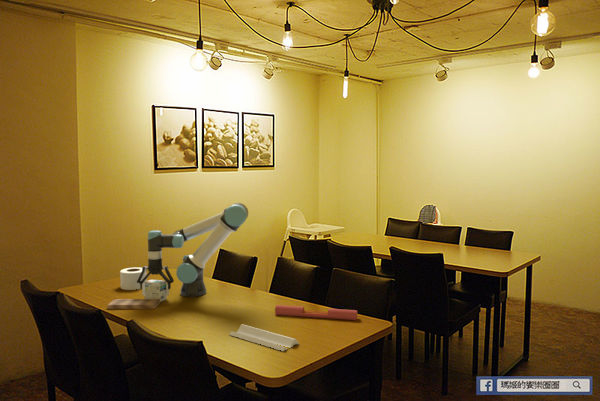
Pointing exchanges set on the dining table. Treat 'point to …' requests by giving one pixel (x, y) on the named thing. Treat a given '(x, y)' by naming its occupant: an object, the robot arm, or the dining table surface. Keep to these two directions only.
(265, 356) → the dining table surface
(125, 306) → the walnut board
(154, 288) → the light bulb box
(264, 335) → the crown molding
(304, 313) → the blood vessel
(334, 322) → the dining table surface
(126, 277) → the toilet paper roll
